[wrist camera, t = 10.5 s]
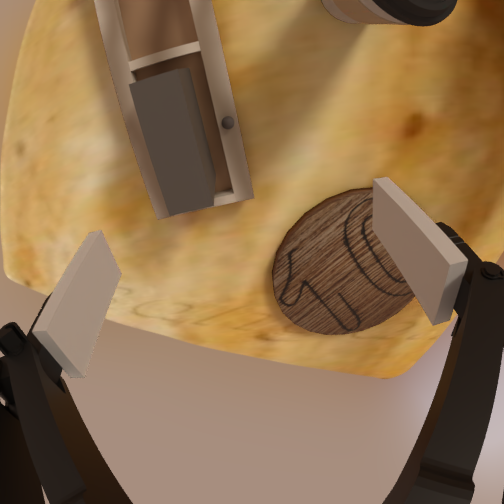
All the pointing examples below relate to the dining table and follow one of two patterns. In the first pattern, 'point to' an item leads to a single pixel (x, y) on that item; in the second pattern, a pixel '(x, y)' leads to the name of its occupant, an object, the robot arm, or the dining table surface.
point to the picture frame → (176, 140)
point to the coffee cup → (391, 11)
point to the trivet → (338, 269)
